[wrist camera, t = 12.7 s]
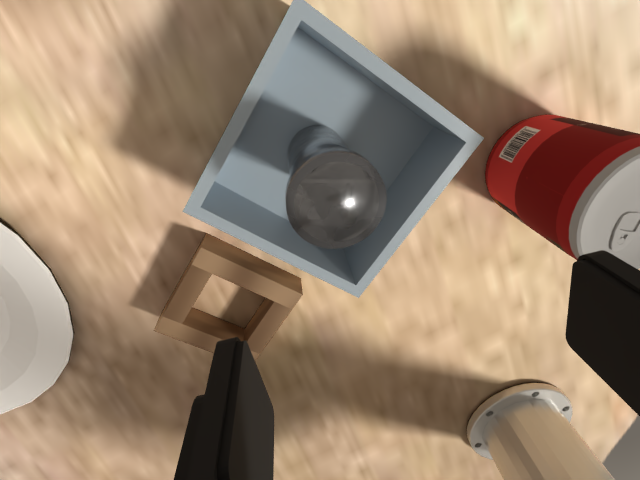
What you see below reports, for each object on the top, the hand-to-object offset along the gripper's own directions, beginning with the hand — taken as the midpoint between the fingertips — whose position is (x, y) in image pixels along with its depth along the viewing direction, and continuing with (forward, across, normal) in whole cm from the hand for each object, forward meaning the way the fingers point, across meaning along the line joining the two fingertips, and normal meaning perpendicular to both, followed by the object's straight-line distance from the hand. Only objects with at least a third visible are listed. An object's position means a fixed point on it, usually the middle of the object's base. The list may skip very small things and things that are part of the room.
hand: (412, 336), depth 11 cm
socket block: (+21, +11, +10) cm, 25 cm away
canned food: (+21, -16, +4) cm, 27 cm away
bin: (+20, 0, -1) cm, 20 cm away
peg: (+20, +1, -1) cm, 20 cm away
